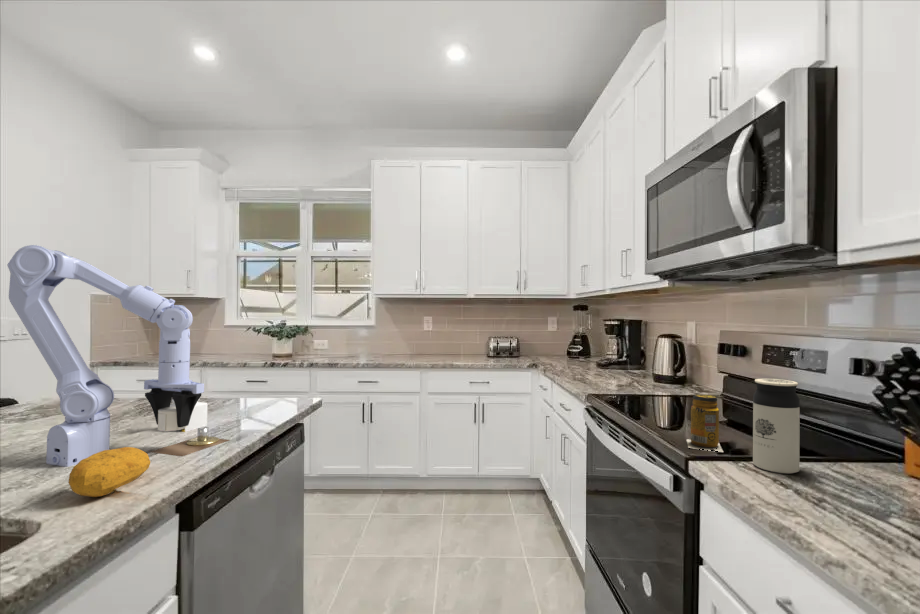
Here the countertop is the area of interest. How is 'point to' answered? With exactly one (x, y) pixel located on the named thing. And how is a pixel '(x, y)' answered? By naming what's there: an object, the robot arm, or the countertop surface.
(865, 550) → the countertop surface
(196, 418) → the medicine bottle
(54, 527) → the countertop surface
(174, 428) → the cap
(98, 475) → the potato
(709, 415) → the condiment
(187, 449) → the board
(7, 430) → the countertop surface
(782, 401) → the travel mug
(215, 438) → the knob
